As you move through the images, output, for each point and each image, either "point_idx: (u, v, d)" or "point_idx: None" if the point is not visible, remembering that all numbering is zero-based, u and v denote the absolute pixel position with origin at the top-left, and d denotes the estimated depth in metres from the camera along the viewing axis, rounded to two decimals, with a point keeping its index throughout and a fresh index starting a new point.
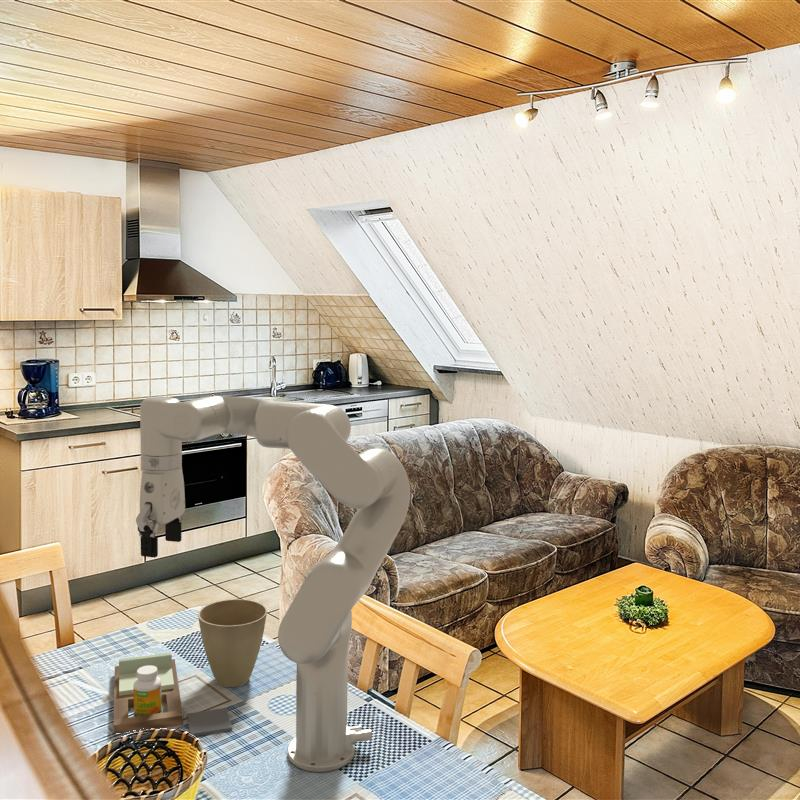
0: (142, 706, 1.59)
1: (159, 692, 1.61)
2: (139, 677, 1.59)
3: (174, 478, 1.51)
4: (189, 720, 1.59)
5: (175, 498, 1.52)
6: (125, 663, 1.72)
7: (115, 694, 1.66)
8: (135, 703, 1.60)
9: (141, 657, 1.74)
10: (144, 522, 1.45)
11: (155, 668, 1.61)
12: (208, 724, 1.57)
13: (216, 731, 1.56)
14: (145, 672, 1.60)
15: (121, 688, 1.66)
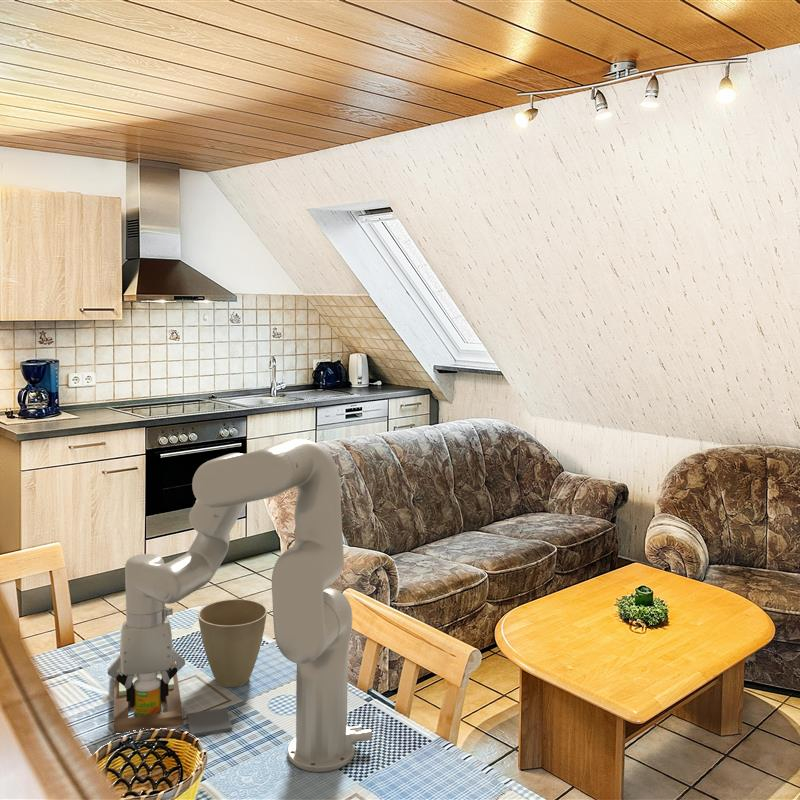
0: (142, 706, 1.59)
1: (159, 692, 1.61)
2: (139, 677, 1.59)
3: None
4: (189, 720, 1.59)
5: None
6: None
7: (115, 694, 1.66)
8: (135, 703, 1.60)
9: None
10: None
11: None
12: (208, 724, 1.57)
13: (216, 731, 1.56)
14: None
15: (121, 688, 1.66)
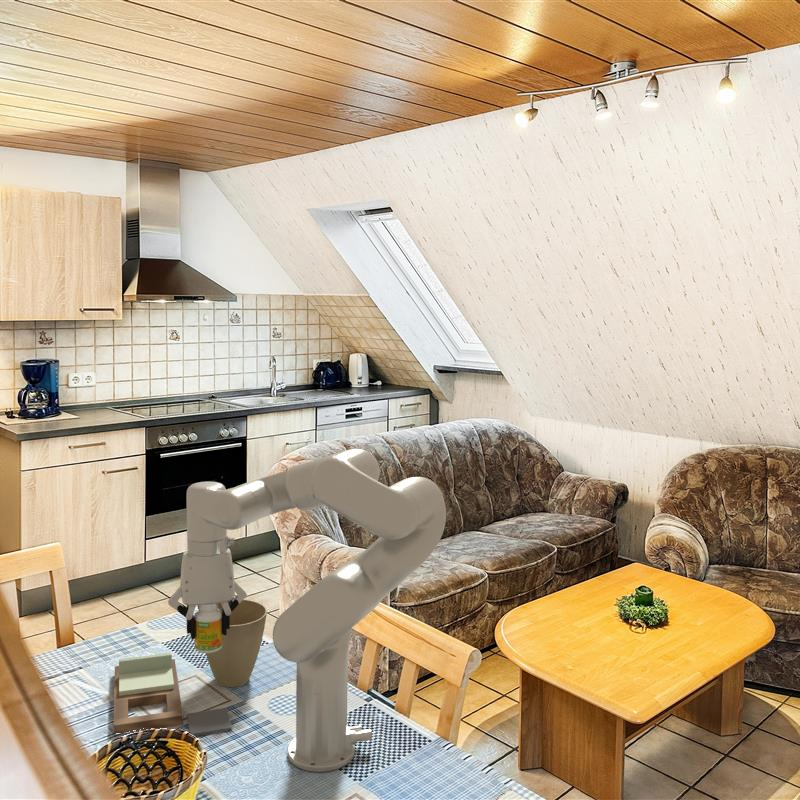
0: (204, 638, 1.54)
1: (220, 624, 1.56)
2: (200, 608, 1.54)
3: None
4: (189, 720, 1.59)
5: None
6: (125, 663, 1.72)
7: (115, 694, 1.66)
8: (196, 635, 1.55)
9: (141, 657, 1.74)
10: None
11: None
12: (208, 724, 1.57)
13: (216, 731, 1.56)
14: None
15: (121, 688, 1.66)
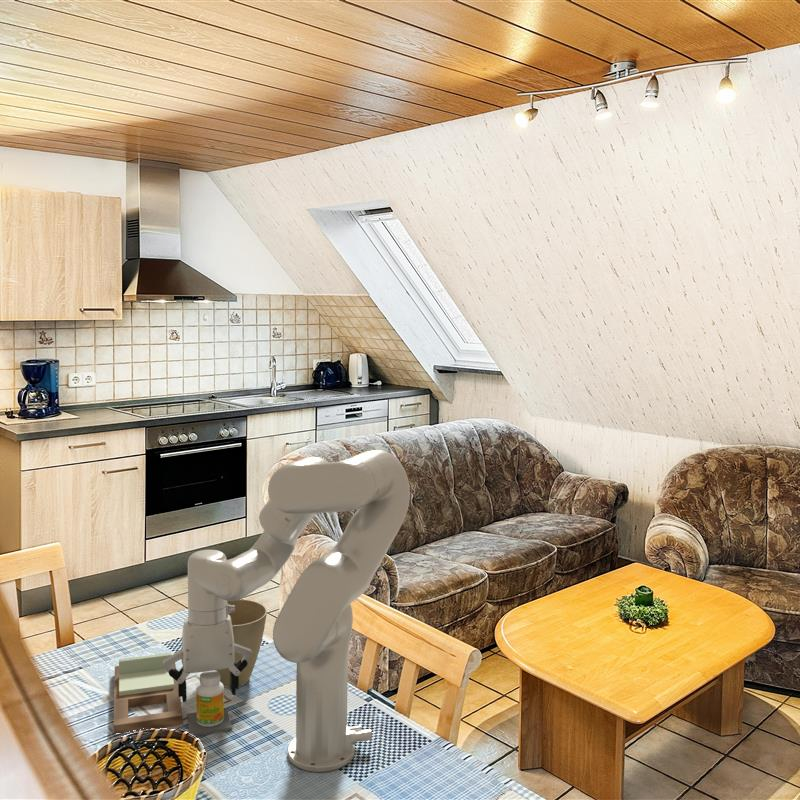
0: (206, 712, 1.56)
1: (222, 697, 1.58)
2: (202, 682, 1.56)
3: None
4: (189, 720, 1.59)
5: None
6: (125, 663, 1.72)
7: (115, 694, 1.66)
8: (198, 709, 1.57)
9: (141, 657, 1.74)
10: None
11: (218, 673, 1.58)
12: None
13: (216, 731, 1.56)
14: (208, 677, 1.57)
15: (121, 688, 1.66)
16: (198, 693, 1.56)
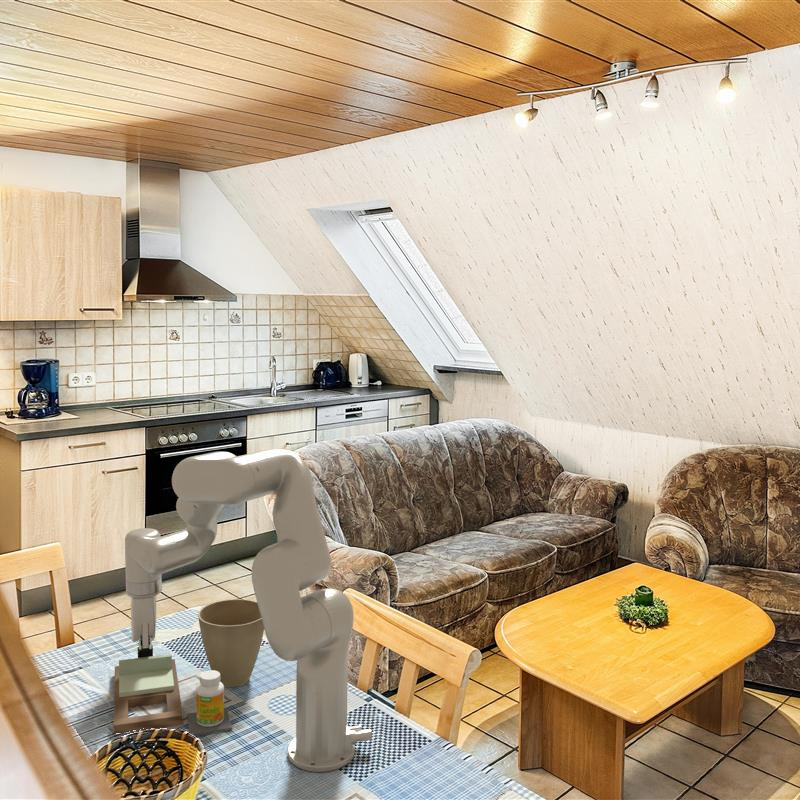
0: (206, 712, 1.56)
1: (222, 697, 1.58)
2: (202, 682, 1.56)
3: None
4: (189, 720, 1.59)
5: None
6: (125, 664, 1.72)
7: (115, 694, 1.66)
8: (198, 709, 1.57)
9: (141, 658, 1.73)
10: None
11: (218, 673, 1.58)
12: None
13: (216, 731, 1.56)
14: (208, 677, 1.57)
15: (121, 689, 1.66)
16: (198, 693, 1.56)
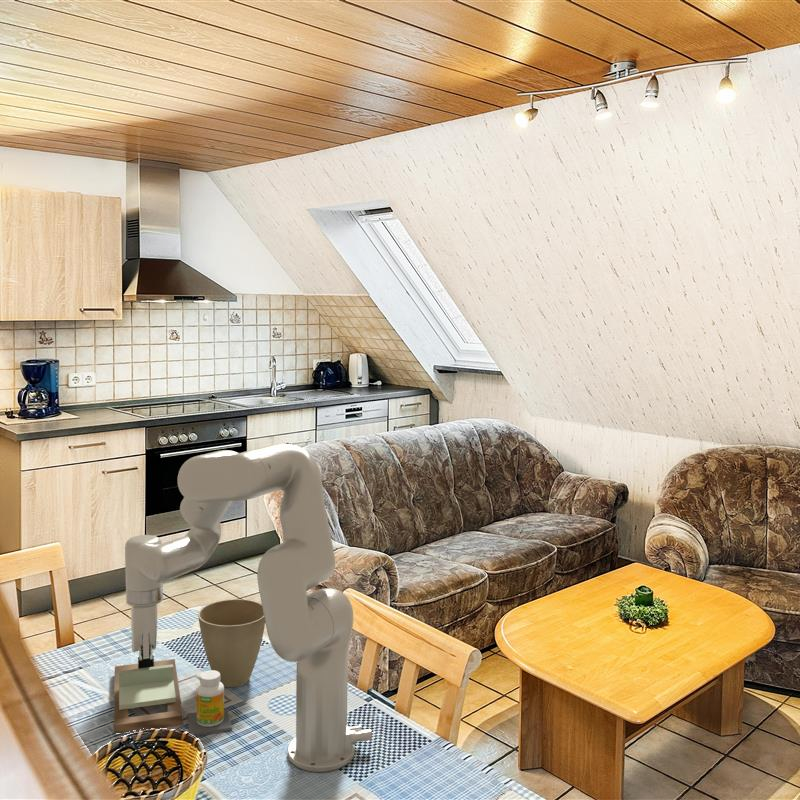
0: (206, 712, 1.56)
1: (222, 697, 1.58)
2: (202, 682, 1.56)
3: None
4: (189, 720, 1.59)
5: None
6: (125, 675, 1.67)
7: (115, 694, 1.66)
8: (198, 709, 1.57)
9: (142, 669, 1.68)
10: None
11: (218, 673, 1.58)
12: None
13: (216, 731, 1.56)
14: (208, 677, 1.57)
15: (121, 702, 1.61)
16: (198, 693, 1.56)
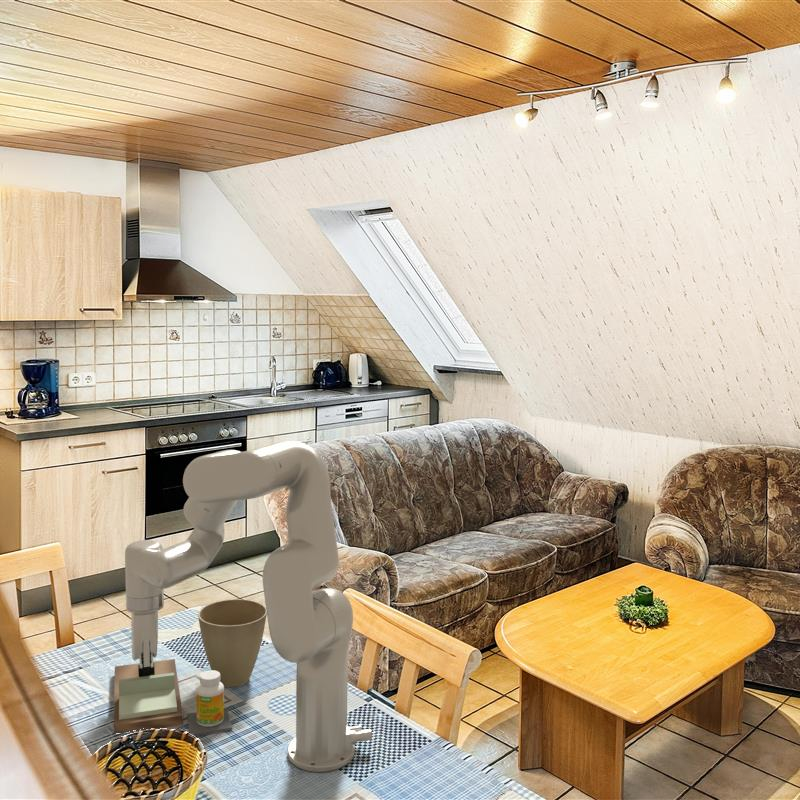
0: (206, 712, 1.56)
1: (222, 697, 1.58)
2: (202, 682, 1.56)
3: (131, 615, 1.65)
4: (189, 720, 1.59)
5: (131, 634, 1.65)
6: (125, 684, 1.63)
7: (115, 694, 1.66)
8: (198, 709, 1.57)
9: (142, 677, 1.65)
10: None
11: (218, 673, 1.58)
12: None
13: (216, 731, 1.56)
14: (208, 677, 1.57)
15: (121, 711, 1.57)
16: (198, 693, 1.56)
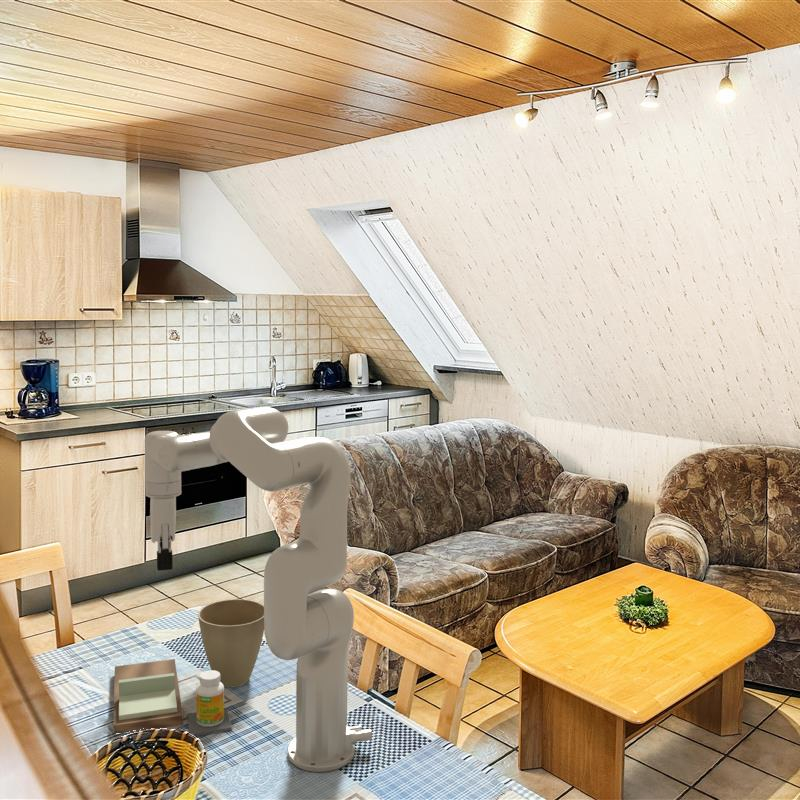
0: (206, 712, 1.56)
1: (222, 697, 1.58)
2: (202, 682, 1.56)
3: (150, 502, 1.72)
4: (189, 720, 1.59)
5: (150, 519, 1.73)
6: (125, 684, 1.63)
7: (115, 694, 1.66)
8: (198, 709, 1.57)
9: (142, 678, 1.64)
10: None
11: (218, 673, 1.58)
12: None
13: (216, 731, 1.56)
14: (208, 677, 1.57)
15: (121, 712, 1.57)
16: (198, 693, 1.56)
